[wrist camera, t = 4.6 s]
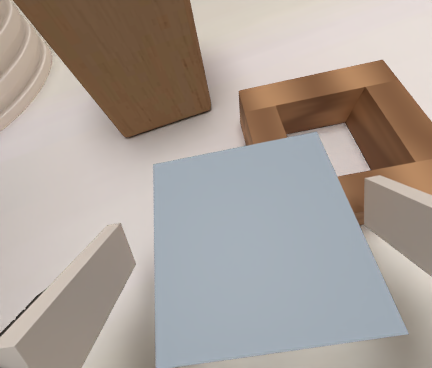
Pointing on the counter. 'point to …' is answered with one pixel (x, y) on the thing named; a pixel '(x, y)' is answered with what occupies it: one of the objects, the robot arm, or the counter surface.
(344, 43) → the counter surface
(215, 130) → the counter surface
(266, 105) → the square wooden frame
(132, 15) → the wooden block
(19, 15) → the plate stack
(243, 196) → the tall blue pillar
